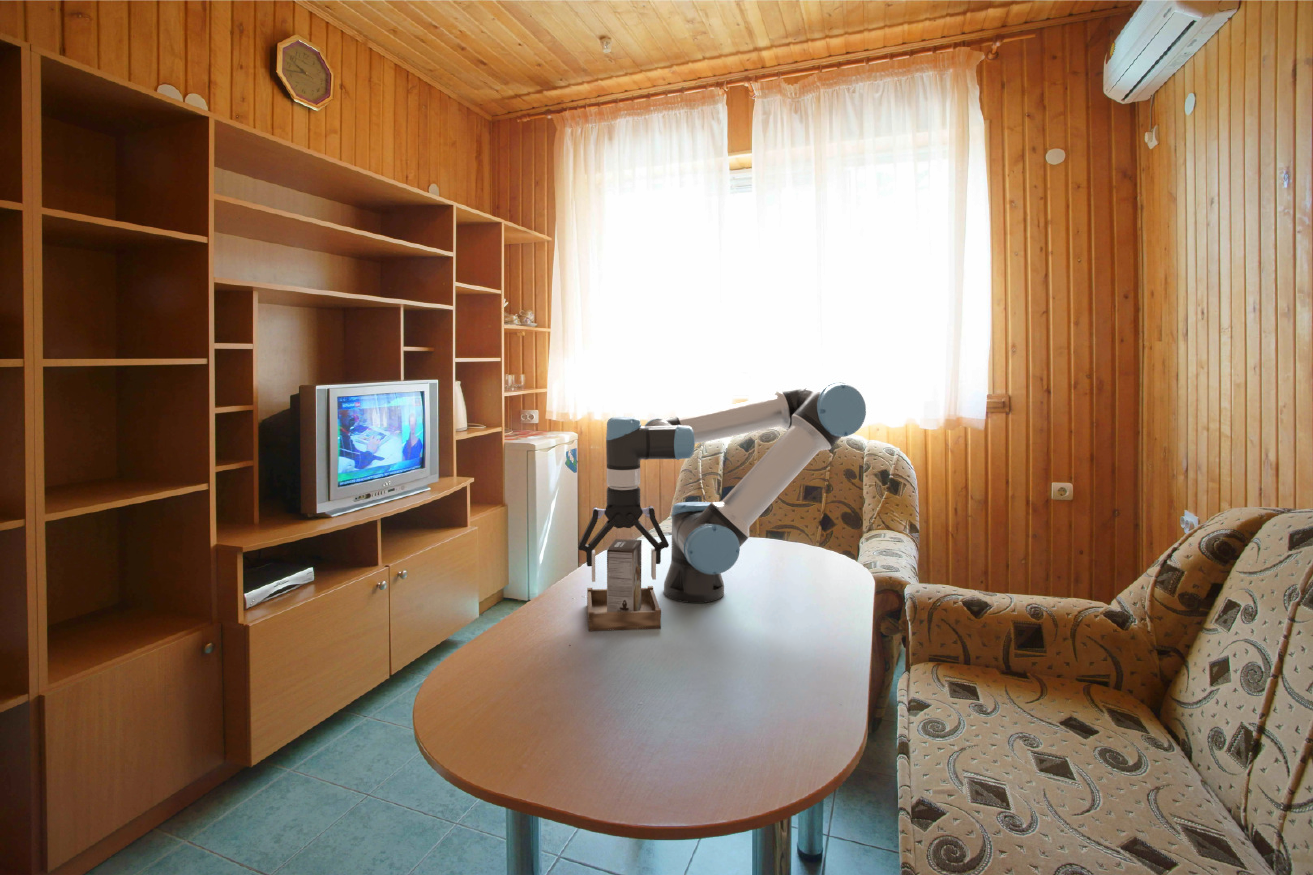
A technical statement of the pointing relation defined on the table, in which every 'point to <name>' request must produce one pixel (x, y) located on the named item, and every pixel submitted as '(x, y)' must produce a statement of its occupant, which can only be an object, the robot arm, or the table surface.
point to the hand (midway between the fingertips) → (623, 578)
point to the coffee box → (624, 576)
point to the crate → (622, 620)
